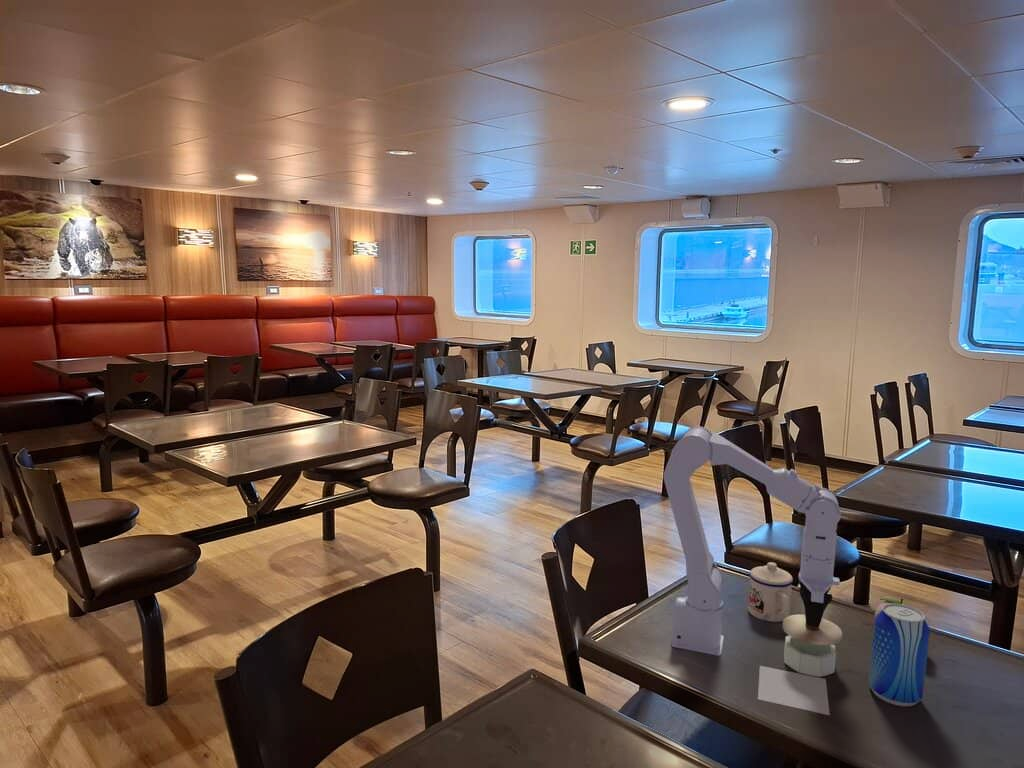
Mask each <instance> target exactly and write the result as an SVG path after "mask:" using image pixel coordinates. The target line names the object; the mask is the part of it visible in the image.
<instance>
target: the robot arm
mask: <svg viewBox="0 0 1024 768" xmlns="http://www.w3.org/2000/svg"><path fill="white" fill-rule="evenodd" d="M709 460H710V463H709V464H710V465H709V466H720V465H728V466H730V467H732V468H734V469H736V470H738V471H740V472H741V473H743V474H745V475H747V476H748V477H750V478H752V479H754V480H756V481H758V482H760V483H761V484H763V485H764V486H765V487H766V488H765V489H766V492H767V494H768V495H770V496H772V497H773V498H775V499H777V500H778V501H779V502H782V503H784V505H786V506H788V507H790V508H791V509H793V510H794V511H796V512H799V513H803V514H805V526H804V528H803V533H802V542H801V543H802V544H801V555H800V569H799V573H798V584H799V595H800V598H801V600H802V602H803V607H804V615H805V618H806V624H807V626H813V627H819V625H820V623H821V620H822V618H823V616H824V613H825V611H826V608H827V607H828V606H829V604H830V603H831V602H832V600H833V594H832V593H829V591H830V590H831V589H832V587H833V585H834V586H839V585H840V583H841V581H840V578H839V577H835V576H834V571H835V570H834V569H835V561H836V559H835V557H836V548H837V547H836V545H837V537H838V533H837V532H836V531H837V528H838V523H839V521H840V520H841V517H842V514H841V509H840V506H839V501H838V499H837V497H836V496H835V494H833V492H831V490H829V489H828V488H825V487H821V486H820V485H819V484H817V483H815V484H812V483H811V482H809V481H807V480H805V479H804V478H802V477H800V476H799V475H798V471H796V470H795V469H793V468H791V469H790V470H788V469H787V468H785V467H783V468H777V469H774V468H772V467H770V466H769V465H767V464H766V463H764V462H763V461H761V460H759V459H758V458H756V457H755V456H753V455H751V454H750V453H749V452H747V451H746V450H744V449H742V448H741V447H739V446H737V445H736V444H734V443H733V442H731V441H730V440H728V439H726V438H725V437H724V436H722V435H721V434H717V433H715V432H713V433H712V432H711V431H710V430H709V429H708V428H705V427H704V426H700V425H699V426H692V427H690V428H688V429H687V430H686V431H685V432H684V433H683V435H682V436H680V438H678V440H677V442H676V444H675V446H674V447H673V448H672V450H671V453H670V456H669V459H668V461H667V464H666V466H665V469H664V472H663V480H664V485H665V489H666V491H667V492H666V493H667V496H668V499H669V504H670V507H671V510H672V515H673V518H674V521H675V525H676V529H677V532H678V533H677V534H678V537H679V540H680V544H681V547H682V550H683V552H682V553H683V555H684V559H685V567H686V568H685V569H686V570H685V571H686V574H685V575H686V578H687V588H686V596H684V597H683V596H677V597H676V600H675V603H674V608H673V609H674V610H673V624H672V642H671V646H672V647H673V648H676V649H682V650H688V651H693V652H699V653H703V654H708V655H713V656H722V650H723V644H724V639H725V637H724V635H723V634H722V629H723V628H722V625H723V609H724V601H723V599H722V597H721V590H722V586H723V585H724V584H723V583H724V575H723V571H721V569H720V568H719V567H718V566H717V563H715V560H714V556H713V555H712V553H711V552H710V549H709V545H708V541H707V537H706V534H705V531H704V530H705V529H704V527H703V526H704V525H703V523H702V520H701V519H702V518H701V515H700V511H699V508H698V505H697V500H696V497H695V496H696V495H695V493H694V490H693V486H692V482H691V478H692V475H694V473H695V471H697V470H698V469H699V468H701V467H702V466H704V465H705V464H706V463H707V462H708V461H709Z"/></svg>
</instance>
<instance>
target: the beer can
mask: <svg viewBox="0 0 1024 768" xmlns="http://www.w3.org/2000/svg"><path fill="white" fill-rule="evenodd" d="M907 605H908V604H904V605H902V604H894V603H893V604H886V605H884V606H883V607H882V611H881V612H880V613H879V614H878V615H877V616H876V618H875V617H874V627H873V638H872V646H871V647H872V649H871V656H870V657H871V658H870V667H869V677H868V684H869V687H870V688H871V690H872V692H873V694H874V695H875V696H877V698H879V700H883V701H884V702H886V703H888V704H892V705H894V706H899V707H912V706H915V705H916V704H918V703H919V702H920V701H922V700H923V695H924V689H925V688H924V687H925V677H926V671H927V670H926V669H927V659H928V651H929V642H930V634H931V629H930V627H929V625H928V624H927V621H926V616H925V614H924V613H923V612H922V611H921V610H920V609H918V608H916V607H915V608H916V609H915V608H913V607H914V606H913V607H910V606H911V605H910V606H907ZM917 609H918V610H917Z"/></svg>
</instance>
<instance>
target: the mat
mask: <svg viewBox="0 0 1024 768" xmlns="http://www.w3.org/2000/svg"><path fill="white" fill-rule="evenodd" d="M758 676H759V677H758V688H757V689H758V690H757V691H758V692H757V700H758V701H763V702H766V703H772V704H776V705H781V706H786V707H790V708H794V709H799V710H803V711H808V712H811V713H817V714H822V715H826V716H830V715H831V714H830V705H829V697H828V696H829V695H828V690H827V689H828V687H827V679H826V678H822V677H818V676H811V675H807V674H803V673H799V672H793V671H789V670H788V671H787V670H783V669H782V670H781V669H778V668H773V667H767V666H763V665H759V673H758Z"/></svg>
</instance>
